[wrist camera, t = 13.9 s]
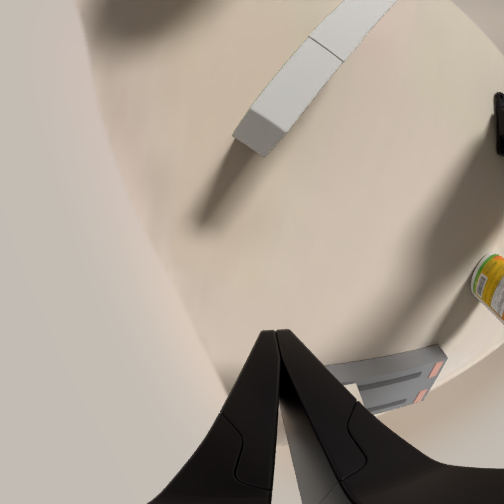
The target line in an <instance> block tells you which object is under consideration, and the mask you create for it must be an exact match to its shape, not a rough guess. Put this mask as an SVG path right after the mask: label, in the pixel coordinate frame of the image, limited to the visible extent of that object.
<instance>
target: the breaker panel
mask: <svg viewBox="0 0 504 504" xmlns="http://www.w3.org/2000/svg"><path fill="white" fill-rule="evenodd" d="M447 358H448V357H447V356H446V355H445V353H444V352H443V350H442V349H441V348H440V346H439V345H438V344H437V345H433V346H429V347H425V348H421V349H417V350H413V351H409V352H404V353H399V354H395V355H390V356H385V357H379V358H374V359H368V360H362V361H356V362H349V363H342V364H335V365H327V366H325V367H326V368H327V369H328V370H329V371H330V372H331V373H332V374H333V375H334V376H335V377H336V378H337V379H338V380H339V381H340V382H341V383H342V384H343V385H349V384H355V383H356V385H357V388H358V390H359V393H360V396H361V398H362V401H363V404H364V406H365V408H366V409H367V410H369V411H370V412H371V413H372V414H373V415H374V414H378V413H382V412H386V411H390V410H393V409H397V408H400V407H404V406H407V405H410V404H414V403H417V402H420V401H423V400H424V398H425V396H426V395H427V393H428V392H429V390H430V388H431V387H432V385H433V384H434V382H435V380H436V378H437V377H438V375H439V373H440V371H441V370H442V368H443V366H444V364H445V362H446V360H447Z"/></svg>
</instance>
